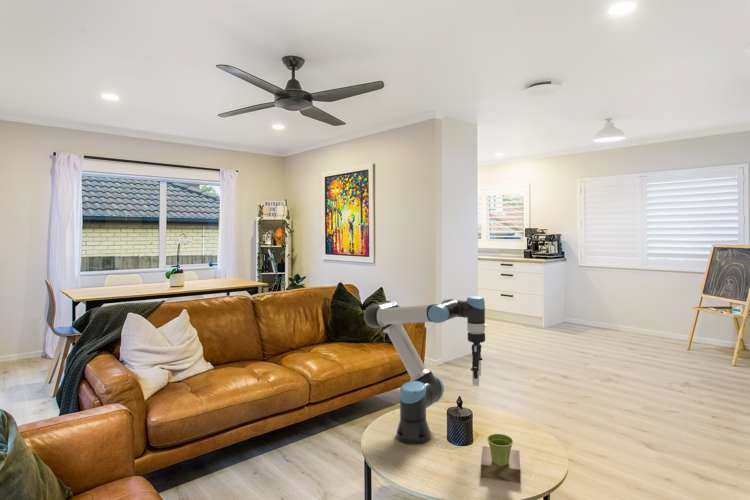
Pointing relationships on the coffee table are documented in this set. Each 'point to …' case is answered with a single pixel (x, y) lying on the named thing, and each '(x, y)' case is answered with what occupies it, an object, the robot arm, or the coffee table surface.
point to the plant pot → (500, 448)
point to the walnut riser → (501, 467)
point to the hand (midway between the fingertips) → (476, 380)
